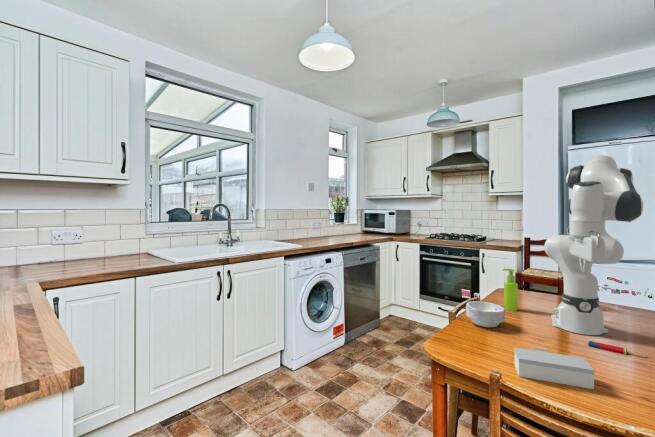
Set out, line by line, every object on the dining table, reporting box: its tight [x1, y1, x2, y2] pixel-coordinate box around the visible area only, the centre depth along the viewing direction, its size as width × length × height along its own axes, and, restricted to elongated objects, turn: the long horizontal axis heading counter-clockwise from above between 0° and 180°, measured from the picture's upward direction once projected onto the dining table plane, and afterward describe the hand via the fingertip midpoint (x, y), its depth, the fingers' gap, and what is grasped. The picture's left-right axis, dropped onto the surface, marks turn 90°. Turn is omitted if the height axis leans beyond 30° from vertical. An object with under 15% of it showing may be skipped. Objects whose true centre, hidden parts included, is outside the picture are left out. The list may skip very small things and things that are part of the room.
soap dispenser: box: [501, 268, 519, 312], centre depth 159 cm, size 6×7×20 cm
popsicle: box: [587, 340, 647, 359], centre depth 112 cm, size 5×2×15 cm
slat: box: [532, 346, 550, 353], centre depth 101 cm, size 16×4×3 cm, turn 158°
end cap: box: [513, 347, 595, 390], centre depth 95 cm, size 8×18×5 cm, turn 67°
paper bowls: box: [465, 300, 506, 328], centre depth 138 cm, size 15×15×8 cm
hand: (585, 272), depth 105 cm, fingers closed
